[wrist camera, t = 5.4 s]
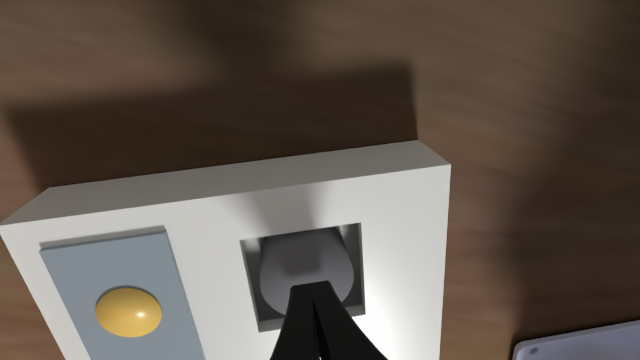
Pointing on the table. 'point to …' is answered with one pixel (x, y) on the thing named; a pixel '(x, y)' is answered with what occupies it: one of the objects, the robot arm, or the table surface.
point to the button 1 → (303, 264)
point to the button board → (234, 253)
